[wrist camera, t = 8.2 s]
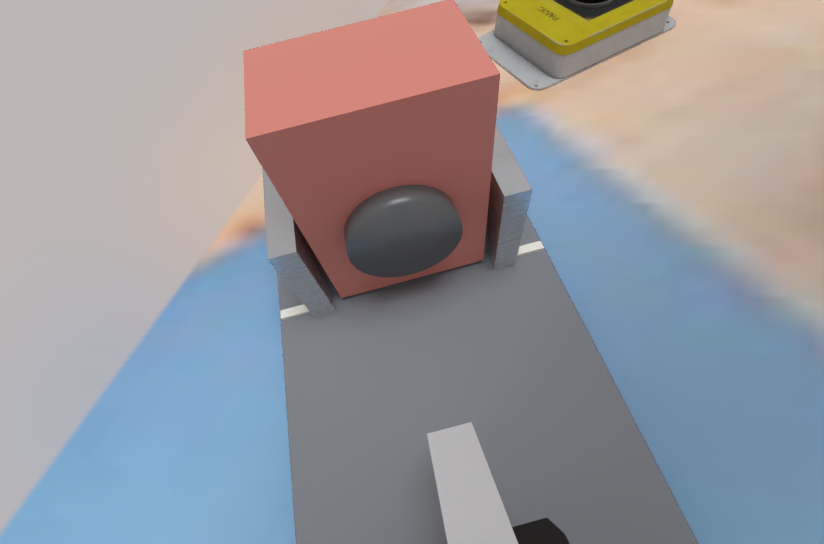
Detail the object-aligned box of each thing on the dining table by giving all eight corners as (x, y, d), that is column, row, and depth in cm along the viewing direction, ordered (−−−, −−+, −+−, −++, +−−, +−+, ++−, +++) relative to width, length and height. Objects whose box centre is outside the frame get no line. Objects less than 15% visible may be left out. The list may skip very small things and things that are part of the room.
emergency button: (705, -30, 29) (544, 44, 27) (678, 30, 33) (534, 99, 31) (615, -66, 34) (470, -6, 32) (600, -10, 38) (470, 48, 35)
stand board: (488, 159, 27) (489, 140, 26) (731, 645, 14) (762, 662, 13) (281, 213, 27) (270, 197, 25) (327, 767, 14) (311, 800, 12)
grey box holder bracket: (464, 154, 26) (465, 68, 21) (515, 264, 21) (532, 189, 16) (300, 197, 25) (260, 120, 20) (315, 318, 21) (267, 259, 16)
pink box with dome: (456, 194, 24) (452, -2, 14) (489, 275, 21) (512, 92, 11) (329, 227, 24) (243, 50, 14) (344, 314, 20) (245, 161, 11)
